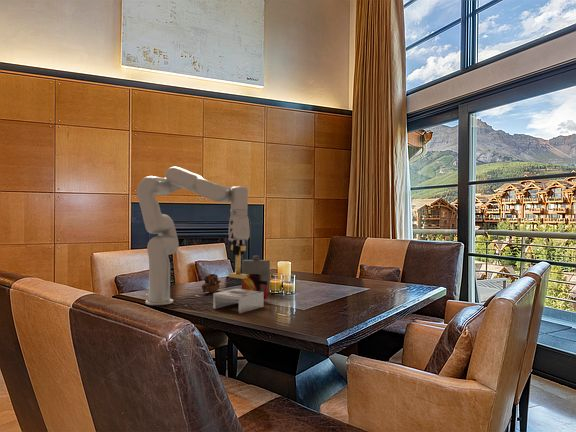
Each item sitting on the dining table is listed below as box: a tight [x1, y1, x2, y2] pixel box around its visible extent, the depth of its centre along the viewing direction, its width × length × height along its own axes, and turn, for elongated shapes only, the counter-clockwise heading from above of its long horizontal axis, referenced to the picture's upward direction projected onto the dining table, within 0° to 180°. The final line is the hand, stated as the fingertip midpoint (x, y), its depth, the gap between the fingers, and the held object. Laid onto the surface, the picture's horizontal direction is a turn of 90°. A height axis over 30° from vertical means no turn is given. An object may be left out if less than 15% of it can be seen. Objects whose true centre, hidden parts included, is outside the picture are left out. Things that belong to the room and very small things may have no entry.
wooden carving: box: [201, 273, 222, 293], centre depth 227 cm, size 16×5×10 cm, turn 164°
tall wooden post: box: [228, 244, 247, 280], centre depth 189 cm, size 3×8×14 cm, turn 56°
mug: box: [241, 274, 268, 300], centre depth 207 cm, size 10×14×12 cm
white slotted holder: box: [212, 288, 265, 314], centre depth 189 cm, size 16×16×7 cm
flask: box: [241, 255, 271, 294], centre depth 226 cm, size 15×6×20 cm, turn 88°
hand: (238, 254), depth 189 cm, fingers closed on tall wooden post, 2 cm apart
